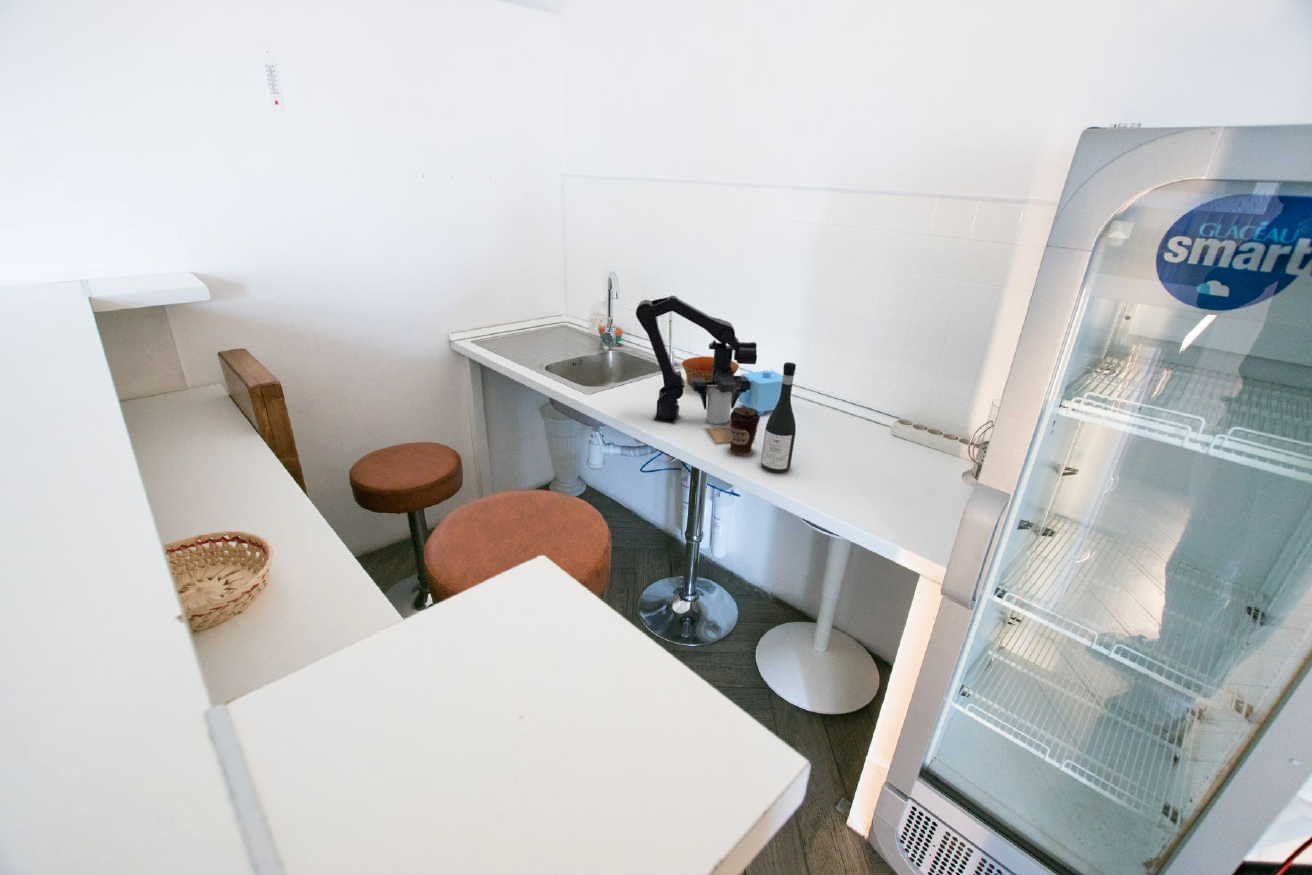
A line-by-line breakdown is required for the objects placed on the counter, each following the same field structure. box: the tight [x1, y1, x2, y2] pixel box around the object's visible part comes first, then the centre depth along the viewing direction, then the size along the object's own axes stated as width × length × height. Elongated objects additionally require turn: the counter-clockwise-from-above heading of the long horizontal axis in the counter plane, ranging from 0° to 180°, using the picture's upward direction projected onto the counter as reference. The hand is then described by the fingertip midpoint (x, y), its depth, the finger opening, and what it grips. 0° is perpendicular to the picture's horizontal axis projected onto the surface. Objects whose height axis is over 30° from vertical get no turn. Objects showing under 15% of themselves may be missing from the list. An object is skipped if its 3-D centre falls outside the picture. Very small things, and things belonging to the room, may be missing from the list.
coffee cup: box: [729, 406, 761, 456], centre depth 166 cm, size 9×8×13 cm
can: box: [705, 387, 732, 426], centre depth 187 cm, size 8×8×12 cm
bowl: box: [681, 356, 740, 392], centre depth 217 cm, size 21×21×10 cm
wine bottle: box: [760, 361, 797, 473], centre depth 154 cm, size 8×8×30 cm
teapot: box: [737, 369, 797, 416], centre depth 200 cm, size 22×11×14 cm, turn 115°
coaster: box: [706, 427, 731, 444], centre depth 179 cm, size 11×11×1 cm
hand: (718, 408), depth 188 cm, fingers open, 9 cm apart
